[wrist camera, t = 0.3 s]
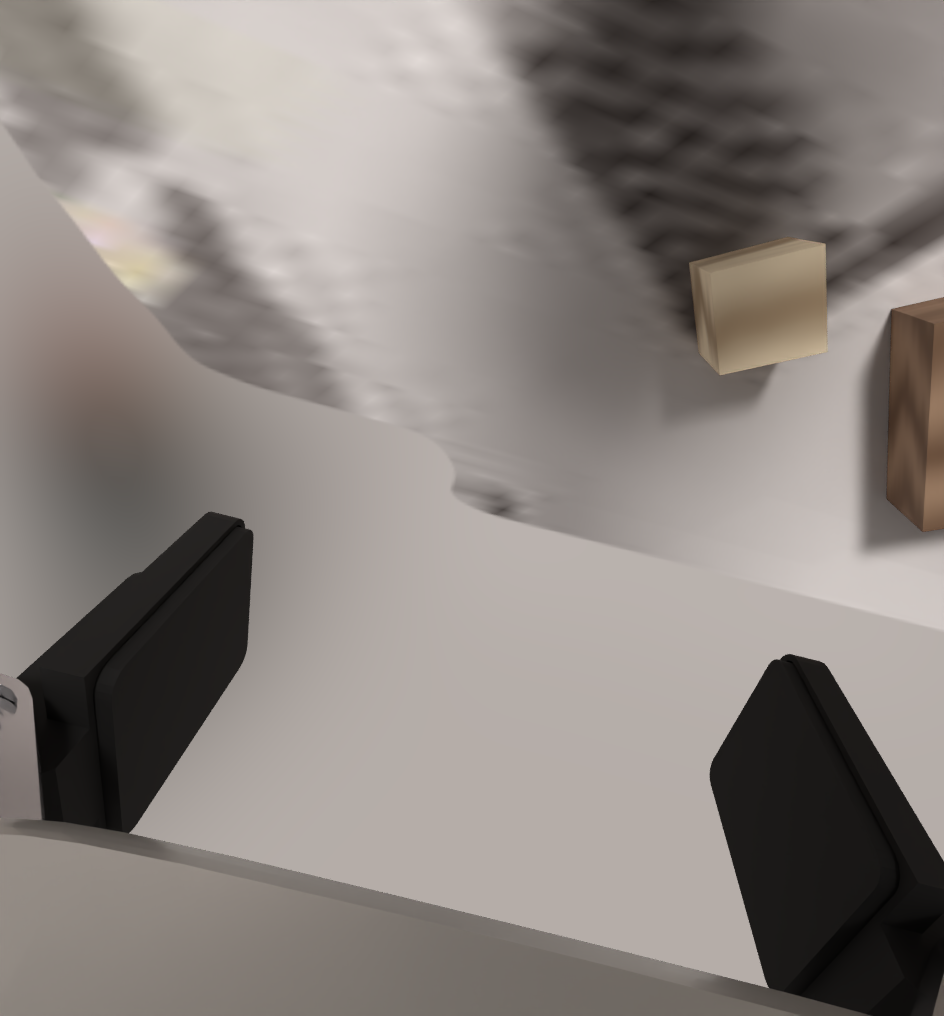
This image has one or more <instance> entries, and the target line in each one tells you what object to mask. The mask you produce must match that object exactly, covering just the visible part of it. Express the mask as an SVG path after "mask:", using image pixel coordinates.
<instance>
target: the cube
mask: <svg viewBox="0 0 944 1016" xmlns="http://www.w3.org/2000/svg"><path fill="white" fill-rule="evenodd" d="M689 267H690V276H691V286H692V295H693V304H694V314H695V323H696V333H697V342H698V351H699V354H700V355H701V356H702V357H703V358H704V359H705V360H706V361H707V362H708V363H709V364H710V365H711V367H712V368H713V369H714V370H715V371H716V372H717V373H718V374H719V375H724V374H729V373H733V372H738V371H742V370H747V369H752V368H756V367H761V366H765V365H770V364H774V363H779V362H784V361H788V360H793V359H797V358H802V357H806V356H811V355H816V354H820V353H825V352H827V300H826V244H824V243H818V242H813V241H807V240H802V239H796V238H791V237H786V238H782V239H778V240H774V241H770V242H767V243H763V244H759V245H755V246H751V247H747V248H743V249H740V250H736V251H732V252H728V253H724V254H720V255H716V256H713V257H709V258H705V259H701V260H697V261H693V262H689Z"/></svg>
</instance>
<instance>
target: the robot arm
mask: <svg viewBox="0 0 944 1016" xmlns="http://www.w3.org/2000/svg"><path fill="white" fill-rule="evenodd" d="M252 553H253V532H252V531H251V530H249V529H245V524H244V521H243V520H242V519H238V518H235V517H231V516H227V515H222V514H219V513H214V512H208V513H206V514H205V515H204V516H203V517H202V518H201V519H199V520H198V522H196V523H195V524H194V525H193V526H192V527H191V528H190V529H189V530H187V531H186V532H185V533H184V534H183V535H182V536H181V537H180V538H179V539H178V540H177V541H175V542H174V543H173V544H172V545H171V546H170V547H169V548H168V549H167V550H166V551H165V552H164V553H163V554H161V555H160V556H159V557H158V558H157V559H156V560H155V561H154V562H153V563H152V564H150V565H149V566H148V567H147V568H146V569H145V570H144V571H143V572H139V573H135V574H133V575H131V576H130V577H129V578H127V579H126V580H125V581H124V582H123V583H122V584H120V585H119V586H118V587H117V588H116V589H115V590H114V591H113V592H111V593H110V594H109V595H108V596H107V597H106V598H105V599H104V600H103V601H102V602H100V603H99V604H98V605H97V606H96V607H95V608H94V609H93V610H92V611H90V612H89V613H88V614H87V615H86V616H85V617H84V618H83V619H81V621H79V622H78V623H77V624H76V625H75V626H74V627H73V628H72V629H70V630H69V631H68V632H67V633H66V634H65V635H64V636H63V637H62V638H60V639H59V640H58V641H57V642H56V643H55V644H54V645H53V646H51V647H50V648H49V649H48V650H47V651H46V652H45V653H44V654H43V655H42V656H40V657H39V658H38V659H37V660H36V661H35V662H34V663H33V664H32V665H30V666H29V667H28V668H27V669H26V670H25V671H24V672H23V673H22V674H21V675H19V676H18V677H17V678H13V677H10V676H7V675H4V674H0V1016H944V861H943V859H942V858H941V856H940V854H939V853H938V851H937V850H936V848H935V846H934V845H933V843H932V841H931V839H930V838H929V836H928V834H927V833H926V831H925V829H924V828H923V826H922V824H921V823H920V821H919V819H918V818H917V816H916V814H915V813H914V811H913V809H912V808H911V806H910V804H909V802H908V801H907V799H906V797H905V796H904V794H903V792H902V791H901V789H900V787H899V786H898V784H897V782H896V781H895V779H894V777H893V776H892V774H891V772H890V771H889V769H888V767H887V766H886V764H885V762H884V761H883V759H882V757H881V756H880V754H879V752H878V751H877V749H876V747H875V746H874V744H873V742H872V741H871V739H870V737H869V736H868V734H867V732H866V731H865V729H864V727H863V726H862V724H861V722H860V721H859V719H858V717H857V716H856V714H855V712H854V710H853V709H852V708H851V706H850V704H849V702H848V701H847V699H846V697H845V696H844V694H843V692H842V691H841V689H840V687H839V685H838V684H837V682H836V681H835V679H834V677H833V675H832V674H831V672H830V670H829V669H828V667H827V666H826V665H825V664H824V663H822V662H820V661H816V660H812V659H808V658H804V657H799V656H795V655H792V654H788V655H785V656H783V657H782V658H781V659H780V660H773V661H772V662H771V663H770V664H769V665H768V667H767V669H766V670H765V672H764V674H763V676H762V678H761V679H760V681H759V683H758V684H757V686H756V688H755V689H754V691H753V693H752V694H751V696H750V698H749V699H748V701H747V703H746V705H745V706H744V708H743V710H742V711H741V713H740V715H739V717H738V718H737V720H736V722H735V723H734V725H733V727H732V728H731V730H730V732H729V734H728V735H727V737H726V739H725V740H724V742H723V744H722V746H721V747H720V749H719V751H718V753H717V754H716V756H715V757H714V759H713V761H712V764H711V768H710V782H711V786H712V790H713V794H714V797H715V801H716V804H717V808H718V811H719V815H720V819H721V822H722V826H723V830H724V833H725V837H726V840H727V844H728V848H729V851H730V855H731V858H732V862H733V866H734V869H735V873H736V876H737V880H738V883H739V887H740V891H741V894H742V898H743V901H744V905H745V909H746V912H747V916H748V919H749V923H750V927H751V930H752V934H753V937H754V941H755V944H756V948H757V952H758V955H759V959H760V962H761V966H762V969H763V973H764V977H765V980H766V982H767V985H768V987H769V988H766V987H762V986H758V985H754V984H750V983H746V982H742V981H738V980H734V979H730V978H726V977H722V976H718V975H715V974H710V973H707V972H703V971H699V970H694V969H691V968H686V967H683V966H679V965H675V964H671V963H667V962H663V961H659V960H655V959H651V958H647V957H643V956H639V955H635V954H631V953H627V952H623V951H619V950H615V949H611V948H607V947H603V946H599V945H595V944H591V943H587V942H583V941H579V940H575V939H571V938H567V937H562V936H558V935H555V934H551V933H547V932H542V931H538V930H534V929H530V928H526V927H522V926H518V925H514V924H510V923H506V922H502V921H498V920H493V919H490V918H486V917H482V916H477V915H473V914H469V913H465V912H461V911H457V910H453V909H449V908H445V907H440V906H437V905H432V904H429V903H424V902H420V901H416V900H412V899H408V898H404V897H400V896H396V895H392V894H387V893H383V892H379V891H375V890H370V889H367V888H362V887H358V886H354V885H350V884H346V883H341V882H337V881H333V880H329V879H325V878H321V877H316V876H312V875H308V874H304V873H300V872H296V871H292V870H287V869H283V868H279V867H275V866H271V865H266V864H262V863H258V862H254V861H249V860H246V859H241V858H237V857H233V856H229V855H224V854H219V853H215V852H210V851H206V850H201V849H197V848H192V847H188V846H183V845H179V844H174V843H170V842H165V841H161V840H156V839H151V838H147V837H143V836H138V835H133V834H129V832H131V830H132V829H133V828H134V827H135V826H136V824H137V823H138V821H139V820H140V818H141V817H142V815H143V814H144V812H145V811H146V809H147V808H148V806H149V804H150V803H151V802H152V800H153V799H154V797H155V796H156V794H157V793H158V791H159V790H160V788H161V787H162V785H163V784H164V782H165V780H166V779H167V777H168V776H169V774H170V773H171V771H172V770H173V768H174V767H175V765H176V764H177V762H178V761H179V759H180V758H181V756H182V755H183V753H184V752H185V750H186V748H187V747H188V746H189V744H190V742H191V741H192V739H193V738H194V736H195V735H196V733H197V732H198V730H199V729H200V727H201V726H202V724H203V723H204V721H205V720H206V718H207V717H208V715H209V714H210V712H211V710H212V709H213V708H214V706H215V705H216V703H217V701H218V700H219V698H220V697H221V695H222V694H223V692H224V691H225V689H226V688H227V686H228V685H229V683H230V682H231V680H232V679H233V677H234V676H235V674H236V673H237V671H238V669H239V668H240V666H241V664H242V662H243V660H244V657H245V654H246V651H247V641H248V624H249V607H250V589H251V571H252Z"/></svg>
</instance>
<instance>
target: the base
mask: <svg viewBox="0 0 944 1016" xmlns="http://www.w3.org/2000/svg"><path fill="white" fill-rule="evenodd" d="M887 500H888V501H889V502H890V503H892V504H893V505H894V506H895V507H896V508H897V509H898V510H899V511H900V512H901V513H902V514H904V515H905V516H906V517H907V518H908V519H909V520H910V521H911V522H912V523H913V524H915V525H916V526H917V527H918V528H919V529H920V530H921V531H922V532H926V531H932V530H938V529H944V297H943V298H938V299H934V300H930V301H925V302H921V303H916V304H912V305H908V306H903V307H899V308H894V309H892V311H891V349H890V386H889V424H888V462H887Z"/></svg>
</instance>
